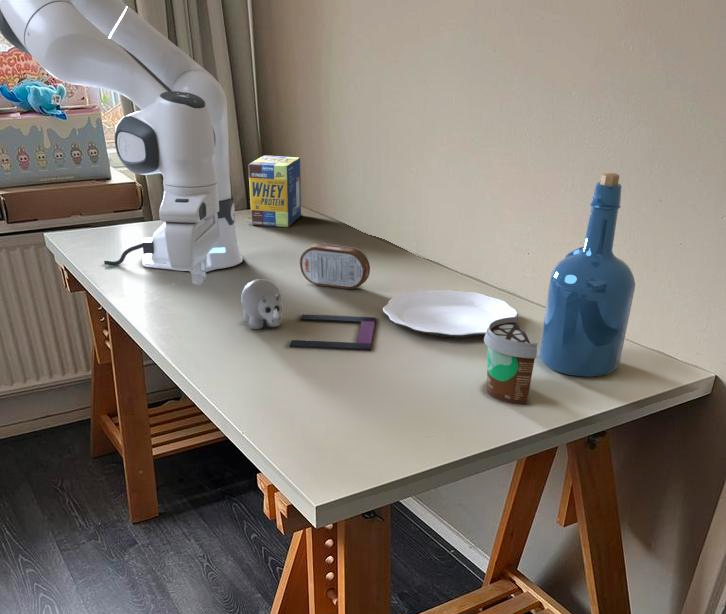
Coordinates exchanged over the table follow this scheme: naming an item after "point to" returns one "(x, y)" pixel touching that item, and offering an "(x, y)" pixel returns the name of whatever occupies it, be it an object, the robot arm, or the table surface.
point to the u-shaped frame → (362, 342)
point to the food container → (509, 361)
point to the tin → (334, 266)
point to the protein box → (275, 190)
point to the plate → (447, 312)
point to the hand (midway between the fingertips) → (199, 281)
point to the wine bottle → (589, 296)
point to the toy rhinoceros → (261, 304)
